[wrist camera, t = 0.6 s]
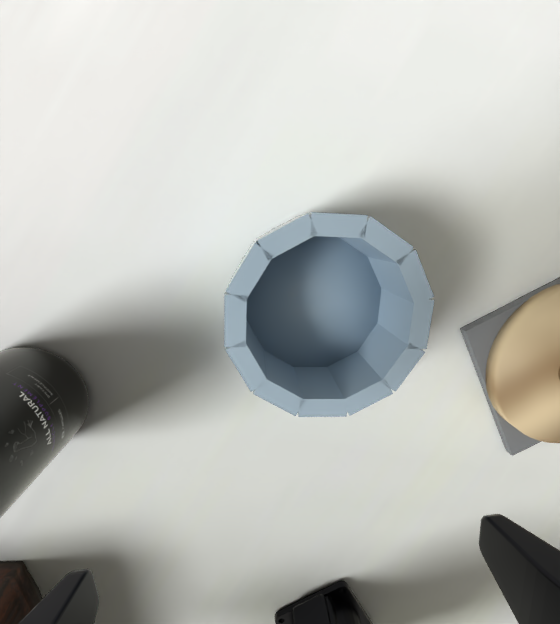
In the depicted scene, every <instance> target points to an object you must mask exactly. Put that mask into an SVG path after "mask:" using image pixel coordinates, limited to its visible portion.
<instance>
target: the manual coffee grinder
mask: <svg viewBox="0 0 560 624" xmlns="http://www.w3.org/2000/svg"><path fill="white" fill-rule="evenodd" d="M41 600H42V597H41V594H40V591H39V589H38V587H37V585H36V584H35V582H34V580H33V578H32V577H31V575H30V573H29V572H28V570H27V568H26V567H25V565H24V563H23V562H22V561H16V562H0V624H19V623H20V622H21V621H22V619H23V618H24V617H25V616H26V615H27V614H28V613H29V612H30V611H31V610H32V609H33V608H34V607H35V606H36V605H37V604H38V603H39V602H40V601H41Z"/></svg>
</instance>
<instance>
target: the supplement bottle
mask: <svg viewBox="0 0 560 624" xmlns="http://www.w3.org/2000/svg"><path fill="white" fill-rule="evenodd" d="M88 407H89V399H88V392H87V389H86V386H85V383H84V381H83V379H82V378H81V376H80V375H79V373H78V372H77V371H76V370H75V368H74V367H73V366H72V365H70V364H69V363H68V362H67V361H65V360H64V359H62V358H61V357H59V356H57V355H55V354H53V353H51V352H48V351H45V350H41V349H37V348H30V347H18V348H10V349H6V350H2V351H0V518H1V517H2V516H3V514H4V513H5V512H6V511H7V510H8V509H9V508H10V507H11V506H12V504H13V503H14V502H15V501H16V500H17V499H18V498H19V497H20V496H21V494H22V493H23V492H24V491H25V490H26V489H27V488H28V487H29V486H30V484H31V483H32V482H33V481H34V480H35V479H36V478H37V477H38V476H39V474H40V473H41V472H42V471H43V470H44V469H45V468H46V467H47V466H48V464H49V463H50V462H51V461H52V460H53V459H54V458H55V457H56V456H57V454H58V453H59V452H60V451H61V450H62V449H63V448H64V447H65V446H66V444H67V443H68V442H69V441H70V440H71V439H72V437H73V436H74V435H75V434H76V433H77V432H78V430H79V429H80V428H81V426H82V425H83V423H84V421H85V418H86V416H87V412H88Z"/></svg>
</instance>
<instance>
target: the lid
mask: <svg viewBox="0 0 560 624" xmlns="http://www.w3.org/2000/svg"><path fill="white" fill-rule="evenodd" d="M486 389H487V393H488V396H489V399H490V401H491V403H492V405H493V407H494V408H495V410H496V411H497V413H498V414H499V415H500V416H501V417H502V418H503V419H504V420H506V421H507V422H508V423H510V424H511V425H512V426H514V427H515V428H516V429H518V430H519V431H520V432H522V433H523V434H525V435H527V436H529V437H530V438H533V439H536V440H539V441H543V442H549V443H560V284H557V285H554V286H551V287H549V288H547V289H544V290H542V291H541V292H539V293H537V294H535V295H534V296H532V297H531V298H529V299H528V300H527V301H526V302H524V303H523V304H522V305H521V306H520V307H519V308H518V309H516V310H515V311H514V312H513V314H512V315H511V316H510V317H509V318H508V319H507V320H506V322H505V323H504V325H503V326H502V327H501V329H500V330H499V332H498V334H497V336H496V338H495V339H494V342H493V344H492V347H491V349H490V352H489V356H488V359H487V365H486Z"/></svg>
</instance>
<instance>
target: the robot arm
mask: <svg viewBox="0 0 560 624" xmlns="http://www.w3.org/2000/svg"><path fill="white" fill-rule="evenodd" d="M479 546H480V550H481V553H482V555H483V557H484V559H485V561H486V563H487V565H488V567H489V568H490V570H491V572H492V574H493V576H494V578H495V580H496V582H497V583H498V585H499V587H500V589H501V591H502V593H503V595H504V597H505V599H506V600H507V602H508V604H509V606H510V608H511V610H512V612H513V614H514V615H515V617H516V619H517V621H518V623H519V624H560V551H559V550H558V549H556V548H555V547H553V546H551V545H550V544H548V543H547V542H545V541H543V540H542V539H540V538H538V537H537V536H535V535H534V534H532V533H530V532H529V531H527V530H526V529H524V528H522V527H521V526H519V525H518V524H516V523H514V522H513V521H511V520H510V519H508V518H506V517H505V516H503V515H500V514H493V515H486V516H483V518H482V519H481V527H480V537H479ZM98 604H99V596H98V592H97V588H96V584H95V580H94V577H93V573H92V571H91V570H90V569H83V570H76V571H72V572H70V573H68V574H67V575H66V576H65V577H64V578H63V579H62V580H61V581H60V582H59V583H58V584H57V585H56V586H55V587H54V588H53V589H52V590H51V591H50V592H49V593H48V594H47V595H46V596H45V597H44V598H43V599H42V600H41V601H40V602H39V603H38V604H37V605H36V606H35V607H34V608H33V609H32V610H31V611H30V612H29V613H28V614H27V615H26V616H25V617H24V618H23V619H22V621H21V622H20V623H19V624H94V621H95V617H96V614H97V610H98ZM275 622H276V624H372V622H371V620H370V619H369V617H368V616H367V614H366V613H365V611H364V609H363V608H362V606H361V605H360V603H359V602H358V600H357V599H356V597H355V595H354V594H353V592H352V591H351V589H350V588H349V586H348V584H347V583H346V582H344V581H340V582H337V583H335V584H333V585H331V586H329V587H327V588H325V589H323V590H321V591H319V592H317V593H315V594H313V595H311V596H309V597H307V598H304V599H302V600H300V601H298V602H296V603H294V604H292V605H290V606H288V607H286V608H284V609H282V610H280V611H278V612H276V614H275Z"/></svg>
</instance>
